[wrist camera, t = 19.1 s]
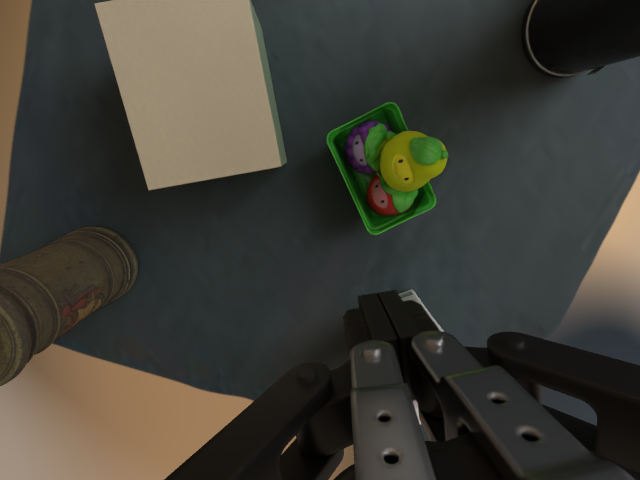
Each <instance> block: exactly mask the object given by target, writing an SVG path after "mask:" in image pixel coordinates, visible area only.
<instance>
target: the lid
mask: <svg viewBox="0 0 640 480" xmlns="http://www.w3.org/2000/svg"><path fill="white" fill-rule="evenodd" d="M95 8H96V11H97V15H98V18H99V21H100V25H101V28H102V32H103V35H104V39H105V42H106V46H107V49H108V52H109V56H110V59H111V63H112V66H113V70H114V73H115V77H116V80H117V83H118V87H119V90H120V94H121V97H122V101H123V104H124V108H125V111H126V114H127V118H128V121H129V125H130V128H131V132H132V135H133V139H134V142H135V145H136V149H137V152H138V156H139V159H140V163H141V166H142V170H143V173H144V177H145V180H146V183H147V187H148V190H154V189H160V188H165V187H171V186H177V185H182V184H188V183H193V182H199V181H204V180H210V179H216V178H221V177H227V176H232V175H238V174H244V173H249V172H255V171H260V170H266V169H271V168H277V167H281V166H282V163H281V158H280V153H279V148H278V143H277V138H276V133H275V128H274V123H273V117H272V112H271V107H270V102H269V97H268V92H267V87H266V82H265V77H264V72H263V66H262V61H261V56H260V51H259V46H258V41H257V36H256V31H255V26H254V20H253V15H252V10H251V5H250V0H112V1H106V2H101V3H95Z"/></svg>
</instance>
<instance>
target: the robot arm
mask: <svg viewBox="0 0 640 480" xmlns="http://www.w3.org/2000/svg"><path fill="white" fill-rule="evenodd" d="M522 40H523V46H524V50H525V53H526V55H527V57H528V59H529V61H530V62H531V63H532V65H533V66H534V67H535V68H536V69H538V70H539V71H540V72H542V73H544V74H546V75H549V76H552V77H568V76H572V75H576V74H579V73H582V72H584V71H586V70H590V69H594V68H596V69H594V70H593V71H591V72H590V73H589V74H587V75H590V74H593V73H596V72H597V71H599V70H600V69H601V68H603V67H604V66H606V65H609V64H613V63H616V62H620V61H624V60H627V59H631V58H634V57H638V56H640V0H533V1H532V3H531V5H530V7H529V9H528V11H527V13H526V16H525V19H524V23H523V30H522ZM358 303H359V308H358V309H351V310H347V311H346V313H345V315H344V316H343V319H344V326H345V332H346V338H347V345H348V351H349V356H350V358H349V360H348V361H347V362H346V363H345V364H344V365H343V366H341V367H339V368H337V369H335V370H333V371H330V370H329V369H328V367H326V366H325V365H323V364H320V363H305V364H301V365H298V366H296V367H294V368H292V369H291V370H290V371H288V372H287V373H286V374H285V375H284V376H283V377H282V378H280V379H279V380H278V381H277V382H276V383H275V384H274V385H272V386H271V387H270V388H269V389H268V390H267V391H265V392H264V393H263V394H262V395H261V396H260V397H259V398H257V399H256V400H255V401H254V402H253V403H252V404H251V405H249V406H248V407H247V408H246V409H245V410H244V411H243V412H241V413H240V414H239V415H238V416H237V417H236V418H234V419H233V420H232V421H231V422H230V423H229V424H228V425H227V426H225V427H224V428H223V429H222V430H221V431H220V432H218V433H217V434H216V435H215V436H214V437H213V438H212V439H210V440H209V441H208V442H207V443H206V444H205V445H204V446H202V447H201V448H200V449H199V450H198V451H197V452H196V453H194V454H193V455H192V456H191V457H190V458H189V459H187V460H186V461H185V462H184V463H183V464H182V465H181V466H179V467H178V468H177V469H176V470H175V471H174V472H173V473H171V474H170V475H169V476H168V477H167V478H166V479H164V480H328V479H329V478H330V476H331V475H332V474H333V472H334V471H335V469H336V468H337V467H338V465H339V464H340V462H341V461H342V459H343V456H344V448H346V447H348V446H350V445H352V444H353V445H354V446H353V447H354V464H353V465H351V466H350V467H348V468H347V469H345V470H344V471H343V472H341V473H340V474H339V475H338V476H337V477H336V478H335V479H334V480H640V366H639V365H636V364H632V363H628V362H624V361H621V360H618V359H614V358H610V357H607V356H603V355H599V354H596V353H592V352H588V351H585V350H581V349H577V348H574V347H570V346H566V345H562V344H559V343H555V342H551V341H548V340H544V339H541V338H537V337H533V336H530V335H526V334H522V333H517V332H501V333H497V334H494V335H492V336H490V337H489V338H488V340H487V348H476V347H464V346H463V345H462V344H461V343H460V342H459V341H458V340H457V339H456V338H455V337H454V336H453V335H451V334H449V333H446V332H442V331H440V330H439V329H438V327H437V326H436V325H435V323H434V322H433V321H432V319H431V318H430V317H429V315H428V314H427V312H426V311H425V309H424V308H423V307H422V305H421V304H419V303H417V302H415V301H413V300H407V301H402V299H401V297H400V296H399V294H398V293H397V291H396V290H392V291H386V292H380V293H377V294H376V293H374V294H368V295H361V296H358ZM542 386H544V387H547V388H550V389H553V390H555V391H559V392H561V393H564V394H567V395H569V396H572V397H575V398H578V399H580V400H583V401H585V402H586V403H588V404H589V405H590V406H591V407H592V408H593V409H594V411H595V412H596V414H597V426H595V425H593V424H590V423H588V422H585V421H582V420H580V419H578V418H575V417H573V416H570V415H568V414H565V413H562V412H560V411H557V410H555V409H553V408H550V407H547V406H545V405H543V404H542ZM415 400H416V401H417V404H418V411H419V419H420V422H421V423H422V425H423V427H424V429H425V431H426V433H427V435H428V437H429V439H430V441H424V437H423V434H422V431H421V427H420V424H419V420H418V417H417V414H416V410H415V407H414V404H413V401H415ZM295 435H296V439H295V441H294V442H293V443H292V444H291V445H290V446H289V447H288V448H287V449H286V451H285V452H284V453H283V454H282V451H283V450H284V448H285V446H286V445H287V444H288V443H289V442H290V441H291V439H293V437H294V436H295ZM281 454H282V455H281Z"/></svg>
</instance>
